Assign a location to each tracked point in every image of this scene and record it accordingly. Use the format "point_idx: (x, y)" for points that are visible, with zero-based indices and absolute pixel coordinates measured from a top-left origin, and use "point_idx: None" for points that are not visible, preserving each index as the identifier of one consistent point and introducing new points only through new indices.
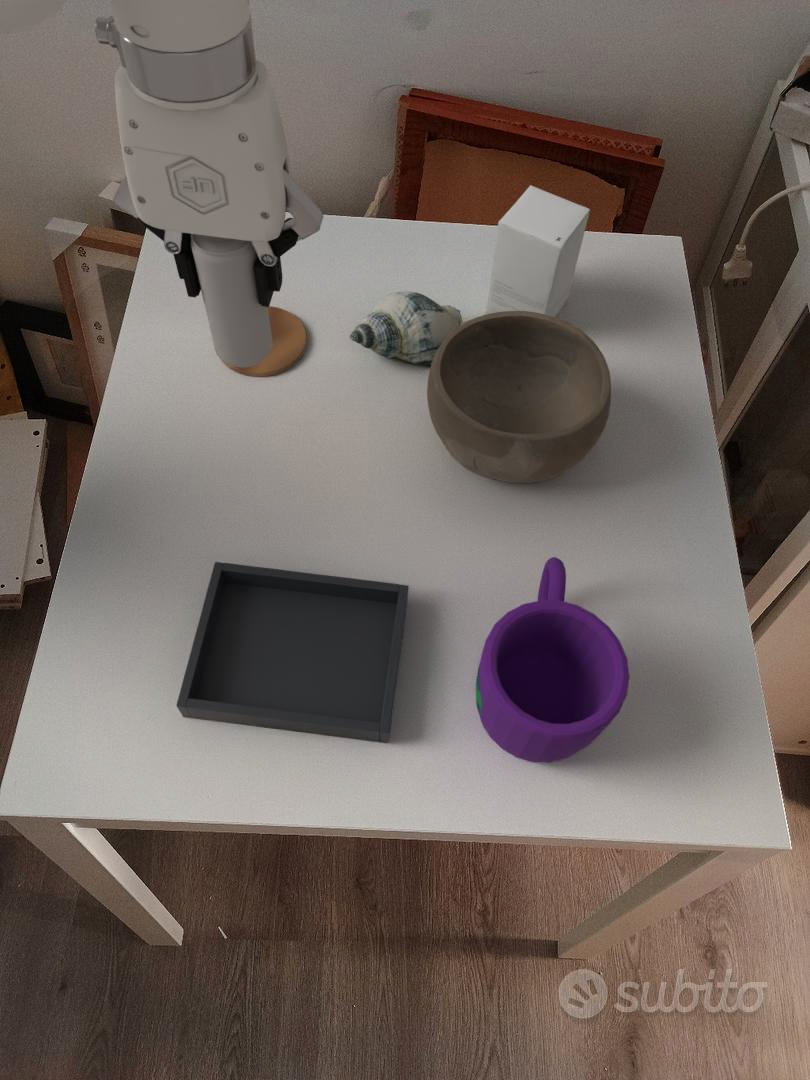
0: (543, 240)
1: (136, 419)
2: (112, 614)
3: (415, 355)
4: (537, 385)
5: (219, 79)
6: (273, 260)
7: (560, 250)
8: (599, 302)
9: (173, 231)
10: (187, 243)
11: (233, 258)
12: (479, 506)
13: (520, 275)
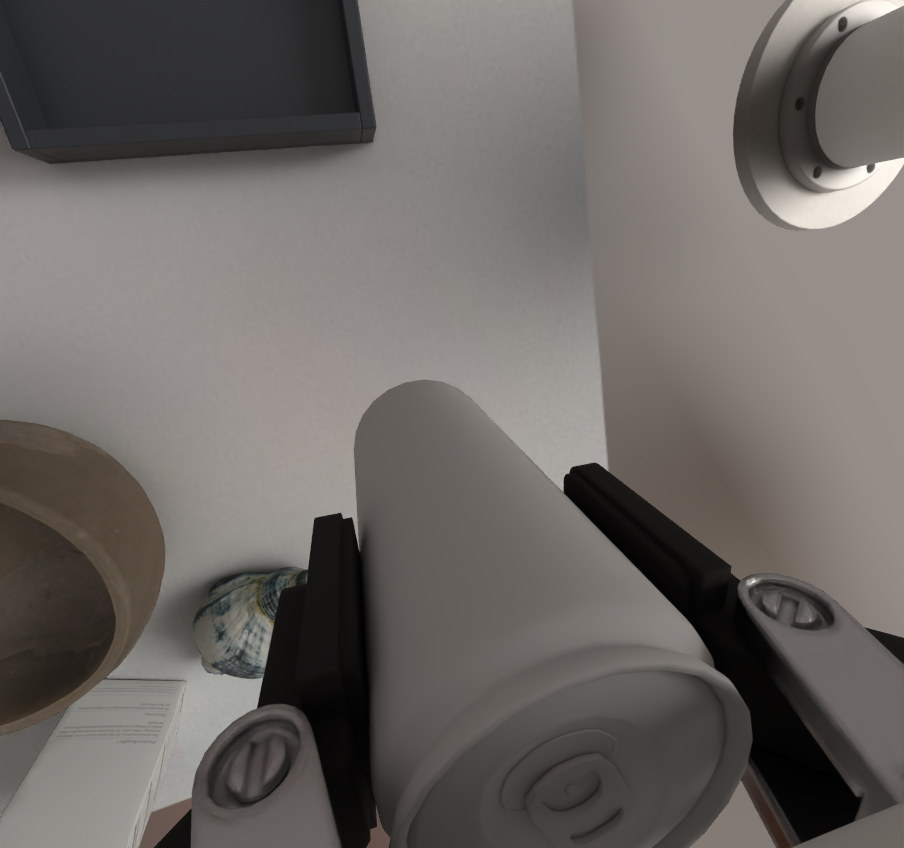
0: None
1: (566, 372)
2: (500, 36)
3: (239, 585)
4: (16, 608)
5: None
6: (230, 761)
7: None
8: (29, 760)
9: (890, 709)
10: (720, 651)
11: (462, 680)
12: (22, 378)
13: (92, 775)
